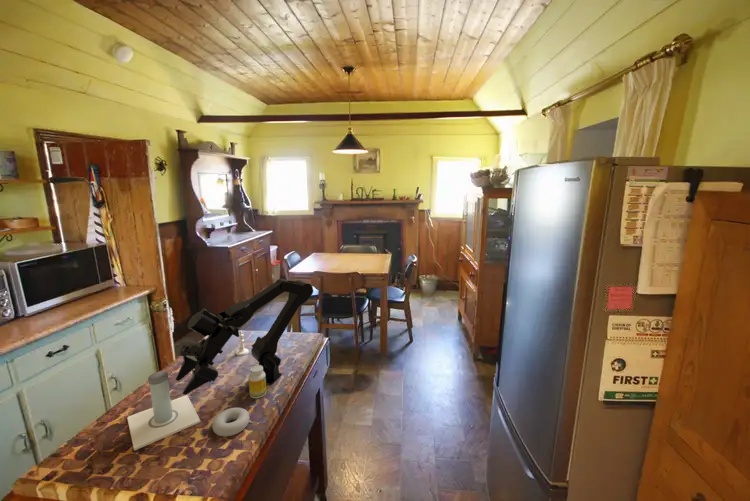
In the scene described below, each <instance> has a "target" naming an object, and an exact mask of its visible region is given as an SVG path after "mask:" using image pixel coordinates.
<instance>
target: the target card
mask: <svg viewBox="0 0 750 501" xmlns="http://www.w3.org/2000/svg"><path fill="white" fill-rule="evenodd" d="M171 407H172V415H173V416H172V418H171V419H170V420H169V421H167V422H165V423H161V424H157V423H155V420H154V413H153V407H151V408H148V409H145V410H142V411H139V412H137V413H134V414H132V415H129V416H127V423H128V428H129V433H130V438H131V442H132V447H133V450H134V451H137V450H139V449H141V448H144V447H146V446H148V445H151V444H153V443H155V442H158V441H160V440H162V439H164V438H167V437H170V436H171V435H174V434H176V433H178V432H181V431H183V430H185V429H187V428H190V427H193V426H195V425H197V424H200V423H201V419H200V417H199V415H198V413H197V411H196V409H195V407H194V405H193V402H192V401H191V400H190V398H189V395H188V394H186V395H183V396H181V397H178V398H175V399H173V400H171Z"/></svg>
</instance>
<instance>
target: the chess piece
mask: <svg viewBox="0 0 750 501" xmlns="http://www.w3.org/2000/svg"><path fill="white" fill-rule="evenodd" d="M238 332H239V337H238V338H239V340H238V342H239V344H240V345H239V347H240V348H239V349H238V350H236V356H240V357H242V356H246V355H248V354H249V353H250V352H249V349H248V348H245V344H244V342H245V339H244V336H245V335H244V332H243V331H242V330H240V331H238Z"/></svg>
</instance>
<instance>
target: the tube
mask: <svg viewBox="0 0 750 501" xmlns="http://www.w3.org/2000/svg"><path fill="white" fill-rule="evenodd" d="M147 381H148V384H149V390H150V398H151V404H152V405H151V406H152V408H153V413H154V420H155V423H157V424H161V423H165V422H167V421H169V420H170V419H171V418H172V416H173V415H172V407H171V401H172V400H171V392H170V384H169V373H168V371H166V370H161V371H157V372H153V373H152V374H150V375H149V376H148V377H147Z"/></svg>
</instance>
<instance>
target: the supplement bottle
mask: <svg viewBox="0 0 750 501" xmlns="http://www.w3.org/2000/svg"><path fill="white" fill-rule="evenodd" d="M249 371H250V372H249V375H248V385H249V386H248V388H249V396H250V397H251V398H253V399H259V398H262V397H265V395H266V394H267V383H266V375H265V372H264V371H263V366H261V365H259V364H258V365H257V364H256V365H253V366H251V368H250V370H249Z"/></svg>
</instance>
